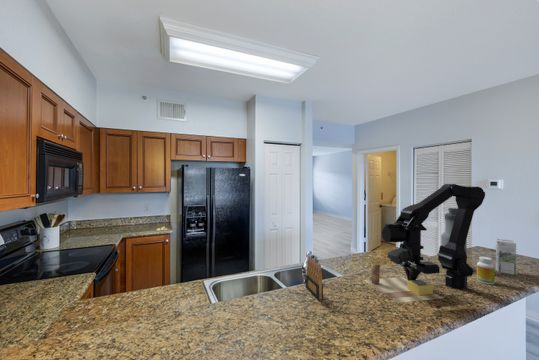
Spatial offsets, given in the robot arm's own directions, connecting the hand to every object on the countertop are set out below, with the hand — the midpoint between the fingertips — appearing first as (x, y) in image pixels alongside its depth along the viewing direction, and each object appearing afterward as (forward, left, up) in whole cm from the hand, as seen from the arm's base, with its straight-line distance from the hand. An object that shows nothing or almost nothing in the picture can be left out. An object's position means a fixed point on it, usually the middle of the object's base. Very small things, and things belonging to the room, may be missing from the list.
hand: (411, 284), depth 91 cm
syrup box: (-57, -8, -2) cm, 58 cm away
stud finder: (0, +4, -1) cm, 4 cm away
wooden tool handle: (+11, -6, -1) cm, 12 cm away
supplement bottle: (-36, -1, -2) cm, 36 cm away
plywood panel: (+5, 0, -2) cm, 5 cm away
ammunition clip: (+37, -4, -2) cm, 37 cm away
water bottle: (-41, -19, -2) cm, 45 cm away
